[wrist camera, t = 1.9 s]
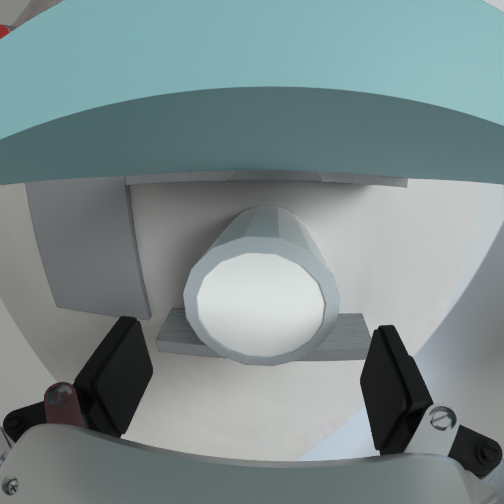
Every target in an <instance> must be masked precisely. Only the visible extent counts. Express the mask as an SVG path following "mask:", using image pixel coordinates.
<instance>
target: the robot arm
mask: <svg viewBox="0 0 504 504" xmlns="http://www.w3.org/2000/svg"><path fill="white" fill-rule="evenodd" d="M152 374H153V367H152V363H151V360H150V357H149V353H148V350H147V346H146V343H145V339H144V335H143V332H142V328H141V324H140V322H139V321H137V319H136V318H135V317H130V316H121V317H120V318H119V319H118V321H117V322H116V323H115V325H114V326H113V327H112V329H111V330H110V331H109V333H108V334H107V335H106V337H105V338H104V339H103V341H102V342H101V344H100V345H99V346H98V348H97V349H96V350H95V352H94V353H93V355H92V356H91V357H90V359H89V360H88V361H87V363H86V364H85V366H84V367H83V369H82V370H81V371H80V373H79V374H78V376H77V377H76V379H75V382H74V384H73V385H71V384H70V383H67V382H59V383H56V384H53V385H52V386H50V387H49V388H48V389H47V391H46V393H45V395H44V401H42V402H39V403H36V404H33V405H30V406H27V407H24V408H21V409H17V410H14V411H12V412H10V413H9V414H8V415H7V416H6V417H5V419H4V421H3V427H1V426H0V504H504V459H503V458H502V449H501V447H500V445H499V444H498V443H497V442H496V441H494V440H492V439H490V438H488V437H486V436H484V435H481V434H479V433H477V432H475V431H473V430H471V429H468V428H466V427H464V426H462V425H460V415H459V413H458V412H457V410H456V409H455V408H454V407H452V406H451V405H449V404H445V403H436V404H434V403H433V401H432V398H431V396H430V394H429V391H428V389H427V387H426V385H425V382H424V380H423V378H422V376H421V374H420V371H419V369H418V367H417V365H416V363H415V361H414V359H413V357H412V356H409V355H408V353H407V351H406V349H405V346H404V344H403V342H402V340H401V338H400V336H399V334H398V332H397V330H396V328H395V327H394V325H382V326H379V327H378V329H375V330H374V332H373V336H372V340H371V343H370V347H369V351H368V354H367V358H366V361H365V364H364V368H363V371H362V374H361V378H360V385H361V389H362V393H363V397H364V401H365V406H366V409H367V414H368V418H369V422H370V427H371V432H372V437H373V441H374V446H375V449H376V450H379V451H380V456H372V457H364V458H353V459H340V460H327V461H256V460H241V459H229V458H220V457H211V456H204V455H197V454H190V453H184V452H178V451H173V450H168V449H163V448H158V447H153V446H149V445H145V444H141V443H137V442H133V441H129V440H125V439H121V438H120V437H121V435H122V434H125V433H126V431H127V429H128V427H129V425H130V422H131V420H132V418H133V416H134V413H135V411H136V409H137V407H138V405H139V403H140V400H141V398H142V396H143V394H144V392H145V390H146V387H147V385H148V383H149V381H150V379H151V377H152Z"/></svg>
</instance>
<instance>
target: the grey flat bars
mask: <svg viewBox="0 0 504 504" xmlns="http://www.w3.org/2000/svg"><path fill="white" fill-rule="evenodd" d="M125 178H126V185H135V184H149V183H166V182H188V181H223V180H282V181H317V182H339V183H356V184H371V185H383V186H395V187H406V188H407V182H408V178H401V177H391V176H380V175H368V174H355V173H339V172H319V171H288V170H226V171H195V172H175V173H159V174H145V175H133V176H125ZM370 343H371V337H370V334H369V331H368V328H367V326H366V323H365V320H364V317H363V315H362V314H338V316H337V321H336V325H335V327H334V328H333V330H332V331H331V332H330V334H329V335H328V337H327V338H326V339H325V341H324V342H323V343H322V345H321V346H320V347H318V348H316V349H315V350H313V351H312V352H310V353H309V354H307V355H306V356H304V357H302V358H301V359H299V360H295V361H341V360H364V359H366V358H367V354H368V351H369V347H370ZM156 344H157V347H158V351H160V352H168V353H176V354H185V355H194V356H205V357H217V358H226V357H223V356H221V355H219V354H218V353H217V352H215V351H214V350H213V349H211V348H210V347H209V346H207V345H206V344H205V343H204V342H202V341H201V340H200V339H199V337H198V336H197V334H196V333H195V331H194V329H193V328H192V326H191V325H190V323H189V321H188V320H187V318H186V312H185V309H178V308H172V310H171V312H170V314H169V316H168V318H167V320H166V321H165V323H164V325H163V327H162V329H161V331H160V333H159V335H158V337H157V338H156Z"/></svg>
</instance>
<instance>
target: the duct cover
mask: <svg viewBox="0 0 504 504" xmlns="http://www.w3.org/2000/svg"><path fill="white" fill-rule="evenodd" d="M226 170H288V171H319V172H339V173H355V174H368V175H380V176H391V177H401V178H412V179H438V180H456V181H470V182H483V183H494V184H504V12H502V11H501V10H499V9H497V8H495V7H494V6H492V5H490V4H488V3H486V2H484V1H482V0H64V1H62V2H61V3H59V4H57V5H55V6H53V7H51V8H49V9H47V10H46V11H44V12H42V13H40V14H39V15H37V16H35V17H34V18H32V19H30V20H29V21H27V22H25V23H24V24H22V25H21V26H19V27H18V28H16V29H15V30H13V31H12V32H10V33H9V34H7V35H6V36H5V37H3V38H2V39H0V185H6V184H15V183H24V182H35V181H46V180H59V179H74V178H92V177H119V176H133V175H145V174H159V173H175V172H195V171H226Z"/></svg>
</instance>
